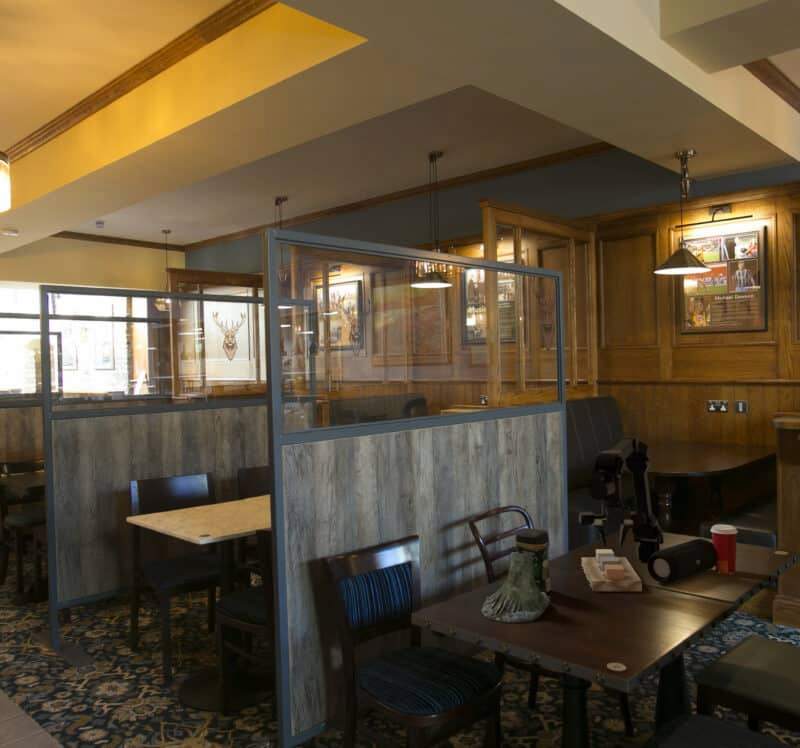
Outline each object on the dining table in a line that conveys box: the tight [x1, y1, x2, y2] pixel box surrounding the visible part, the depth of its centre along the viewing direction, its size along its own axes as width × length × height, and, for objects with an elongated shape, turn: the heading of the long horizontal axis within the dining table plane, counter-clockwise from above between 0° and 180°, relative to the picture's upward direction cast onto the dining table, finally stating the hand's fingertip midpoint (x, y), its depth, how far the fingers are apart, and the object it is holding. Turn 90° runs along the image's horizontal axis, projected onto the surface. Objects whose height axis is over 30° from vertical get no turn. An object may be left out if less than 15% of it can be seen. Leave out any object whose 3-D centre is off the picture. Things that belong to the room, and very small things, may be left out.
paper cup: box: [710, 524, 738, 574], centre depth 221 cm, size 8×8×14 cm
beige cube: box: [595, 548, 615, 563], centre depth 229 cm, size 5×5×5 cm
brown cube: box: [604, 565, 625, 580], centre depth 211 cm, size 5×5×5 cm
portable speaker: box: [646, 538, 717, 585], centre depth 218 cm, size 26×10×10 cm, turn 126°
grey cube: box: [600, 556, 619, 571], centre depth 220 cm, size 5×5×5 cm
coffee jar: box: [514, 527, 552, 595], centre depth 210 cm, size 10×8×19 cm
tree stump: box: [480, 551, 552, 624], centre depth 196 cm, size 18×20×18 cm
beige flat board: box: [581, 556, 643, 592], centre depth 220 cm, size 14×26×3 cm, turn 172°
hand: (613, 546), depth 211 cm, fingers open, 4 cm apart
